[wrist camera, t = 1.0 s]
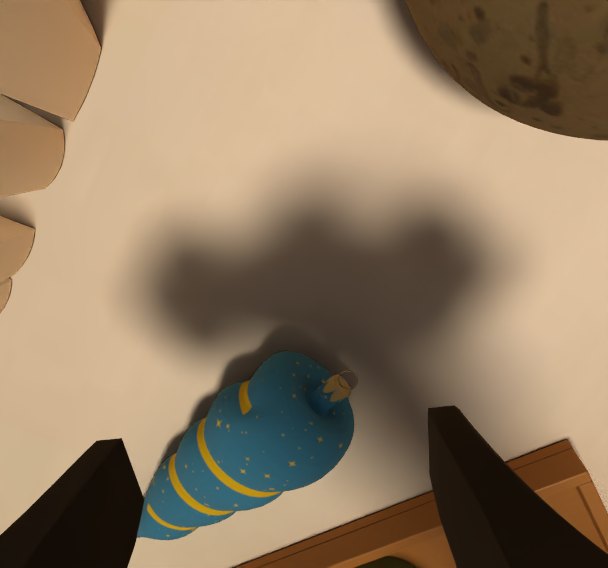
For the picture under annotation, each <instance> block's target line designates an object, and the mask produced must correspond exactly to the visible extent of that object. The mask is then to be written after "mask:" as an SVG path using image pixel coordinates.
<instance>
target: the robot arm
mask: <svg viewBox="0 0 608 568" xmlns="http://www.w3.org/2000/svg"><path fill="white" fill-rule="evenodd" d="M428 441H429V474H430V479H431V483H432V488H433V492H434V496H435V501H436V505H437V509H438V513H439V517H440V520H441V523H442V526H443V529H444V532H445V535H446V538H447V541H448V544H449V547H450V550H451V552H452V555H453V558H454V561H455V564H456V567H457V568H608V554H607V553H606V552H605V551H603V550H602V549H601V548H599V547H598V546H597V545H596V544H594V543H593V542H592V541H591V540H589V539H588V538H587V537H586V536H584V535H583V534H582V533H581V532H580V531H578V530H577V529H576V528H575V527H573V526H572V525H571V524H570V523H569V522H568V521H566V520H565V519H564V518H563V517H562V516H561V515H560V514H558V513H557V512H556V511H555V510H554V509H553V508H552V507H551V506H549V505H548V504H547V503H546V502H545V501H544V500H543V499H542V498H541V497H540V496H539V495H538V494H537V493H536V492H534V491H533V490H532V489H531V488H530V487H529V486H528V485H527V484H526V483H525V482H524V481H523V480H522V479H521V478H520V477H519V476H518V475H517V474H516V473H515V472H514V471H513V470H512V469H511V468H510V467H509V466H508V465H507V463H506V462H505V461H504V460H503V459H502V458H501V457H500V456H499V455H498V454H497V453H496V452H495V451H494V450H493V449H492V448H491V446H490V445H489V444H488V443H487V442H486V441H485V440H484V438H483V437H482V436H481V435H480V434H479V433H478V432H477V430H476V429H475V428H474V427H473V426H472V424H471V423H470V422H469V421H468V420H467V418H466V417H465V416H464V415H463V413H462V412H461V411H460V409H458V408H457V407H456V406H455V405H454V406H444V407H434V408H428ZM143 505H144V498H143V495H142V492H141V490H140V487H139V484H138V481H137V479H136V476H135V473H134V471H133V468H132V465H131V462H130V460H129V457H128V454H127V452H126V449H125V446H124V443H123V441H122V438H120V439H110V440H100V441H96V442H95V443H94V444H93V445H92V446H91V447H90V448H89V449H88V450H87V451H86V452H85V453H84V454H83V455H82V456H81V457H80V458H79V459H78V460H77V461H76V462H75V463H74V464H73V465H72V466H71V467H70V468H69V469H68V470H67V471H66V472H65V473H64V474H63V475H62V476H61V477H60V478H59V479H58V480H57V481H56V482H55V483H54V484H53V485H52V486H51V487H50V488H49V489H48V490H47V491H46V492H45V493H44V494H43V495H42V496H41V497H40V498H39V499H38V500H37V501H36V502H35V503H34V504H33V505H32V506H31V507H30V508H29V509H28V510H27V511H26V512H25V513H24V514H23V515H22V516H21V517H19V518H18V519H17V520H16V521H15V522H14V523H13V524H12V525H11V526H10V527H9V528H8V529H7V530H5V531H4V532H3V533H2V534H1V535H0V568H127V567H128V564H129V561H130V558H131V555H132V552H133V549H134V546H135V542H136V538H137V534H138V529H139V525H140V520H141V515H142V510H143Z"/></svg>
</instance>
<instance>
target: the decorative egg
mask: <svg viewBox="0 0 608 568" xmlns="http://www.w3.org/2000/svg"><path fill="white" fill-rule="evenodd" d="M406 2H407V5H408V8H409V11H410V13H411V15H412V17H413V19H414V22H415V24H416V26H417V28H418V30H419V32H420V34H421V36H422V38H423V39H424V41H425V42H426V44H427V45H428V47H429V48H430V50H431V51H432V53H433V54H434V56H435V57H436V59H437V60H438V61H439V63H440V64H441V65H442V66H443V67H444V69H445V70H446V71H447V72H448V73H449V74H450V75H451V76H452V77H453V79H454V80H455V81H456V82H458V83H459V84H460V85H461V86H462V87H463V88H464V89H465V90H467V91H468V92H469V93H470V94H472V95H473V96H474V97H476V98H477V99H478V100H480V101H481V102H482V103H484V104H485V105H487V106H489V107H490V108H492V109H494V110H496V111H497V112H499V113H501V114H503V115H505V116H507V117H509V118H511V119H514V120H516V121H518V122H520V123H523V124H526V125H529V126H532V127H534V128H538V129H541V130H545V131H548V132H552V133H556V134H561V135H566V136H571V137H577V138H585V139H594V140H608V0H406Z"/></svg>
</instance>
